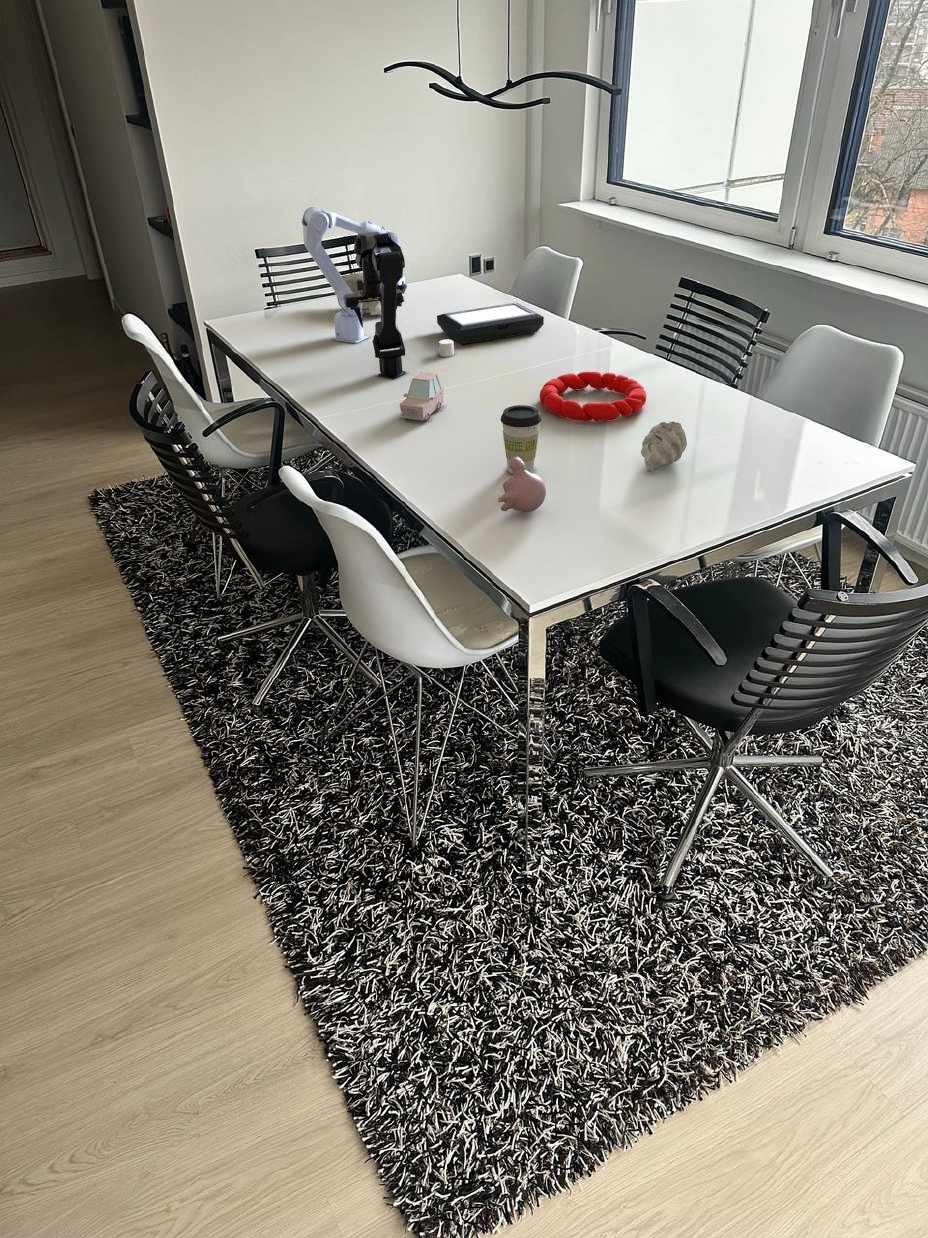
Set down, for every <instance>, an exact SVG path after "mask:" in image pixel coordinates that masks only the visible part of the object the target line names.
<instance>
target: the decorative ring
mask: <svg viewBox="0 0 928 1238" xmlns="http://www.w3.org/2000/svg"><path fill="white" fill-rule="evenodd" d="M588 386H589V387H591V388H592V389H595V390H603V389H607V390H608V391H612V392H615V393H617V394H618V393H619V394H622V395H624V396H625V398H623V399H618V400H615V401H611V402H605V401H604V402H587V403H585V404H583V405H582V406H581V404H580V403H579V402H578V401H576V400H572V399H567V400H564V398H563V397H562V396H560V395H561V394H564V393H565V392H566V391H567V390H568V389H570V390H572V391H573V390H574V391H580V390H581V391H582V390H584V389H586V388H588ZM539 401H540V404H541V405H542V406H543V407H544V408H545V410H547V411H548V412H549V413H552V414H553V415H556V416H558V417H561V418H564V419H569V420H573V421H581V422H590V421H592V420H593V421H594V422H611V421H615V420H617V419H618V418H619V417H620V416H622V417H629V416H631V415H632V414H636V413H638V412H639V411H640V410H642V408H643V406H644V405H645V404H646V401H647V392H646V390H645V388H644V386H643V385H642V384H641V383H639V382H638V381H637V380H635V379H634V378H629V377H628V376H626V375H622V374H618V375H616V374H615V373H614V372H605V373H603V374H602V373H601V372H598V371H580V372H579V373H576V374H575V373H573V372H572V373H566V374H561V375H559V376H557V377H556V378H551V379H550V380H548V381H546V382H545V384H543V386H542V388H541V389H540V391H539Z"/></svg>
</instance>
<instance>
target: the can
mask: <svg viewBox="0 0 928 1238" xmlns="http://www.w3.org/2000/svg"><path fill="white" fill-rule="evenodd" d="M438 349H439V350H438V351H439V352H438V353H439V356H441V357H444V358H448V357H453V356H454V355H455V351H454V350H455V349H454V340H453V339H441V340H439V341H438Z"/></svg>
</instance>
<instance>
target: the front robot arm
mask: <svg viewBox="0 0 928 1238" xmlns="http://www.w3.org/2000/svg"><path fill="white" fill-rule="evenodd" d="M382 248H389V249H390V250H391V251H392V252H386V253H380V252H381V250H382ZM353 252H354V254H355V258H354V260H355V263H356V265H357V267H358V268H359V269H360V270H361V271H362V273H363V281H362V280H357V281H356V284H357V291H363V294H364V295H365V296H358V297H357V295H356V294H345V295H344V304H345V306H346V307H350V309H351V310H354V311H355V313H356V315H357V317H358V319H359V322H360V324H361V327H363V328H364V323H363V322H364V321H363V315H362V316H361V311H360V307H359V305H358V304H359V303H362V302H372V301H381V315H380V321H377V322H375V324H374V335H373V337H372V338H373V339H372V346H373V350H374V357H375V358H376V359H378V365H379V373H377V376H378V377H380V378H386V379H392V380H396V379H398V378H399V377H402V376H403V375H405V374H406V371H405V370H403V359H402V357H406V347H405V344H404V339H403V336H402V332H401V330H400V329H399V326H398V324H397V310H398V307H399V306H398V305H401V303H400V302H402V303H404V302H405V301H406V300H405V293H404V294H403V293H402V291H401V290H400V289H398V290H397V283H398V282H399V281H400V279H401V278H402V277H404V276H403V275H404V269H405V267H406V261H405V260H406V259H405V256H404V253H403V250H402V248H401V246H400V244H399V245H398V244H396V243H395V242H394V241H393V240H392V238H391V235H390V234H388V233H379V232H368V233H359V234H357V237H356V238H355V240H354V245H353ZM377 297H378V298H377ZM368 298H372V299H368ZM397 306H398V307H397Z"/></svg>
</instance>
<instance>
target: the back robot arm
mask: <svg viewBox="0 0 928 1238" xmlns="http://www.w3.org/2000/svg"><path fill="white" fill-rule="evenodd" d="M301 225H302V235H303V244H304V247H305V248H306V250H307V252H308V253H309V255H310V256H311V258H312V259H313V260H314V262H315V264H316V265H317V267H318V268H319V270H320V272H321V273H322V275H323V276H324V278H325V279H326V280H327V281H326V282H328V284H329V286H330V287H331V288H332V290H333V292H334V294H336V295H335V297H336V298H337V299H336V300H337V304H338V306H339V307H340V308H341V309H340V311H338V312H336V314H335V315H334V317H333V326H334V333H335V335H334V336H335V338H334V341H338V342H345V343H352V344H358V343H360V342H362V341H364V340H366V339H368V338H369V337H370V336H369V335H368V334H367V335H366V334H364V326H363V327H361V324H360V322H359V319H358V317H357V315H356V313H355V311H354V310H351V309H350V307H346V306H345V304H344V295H345V294H353V292H352V291H351V289H350V288H349V287H348V286H347V284H346V283H345V281H344V280H343V278H342V275H341V273H340V272H339V270H338V269H337V267H336V265H335V264H334V262H333V260H332V259H331V258H330V256H329V254H328V253H327V252H326V250H325V248H324V246H323V245H322V242H323V241H322V240H323V236H324V235H325V233H326V231H327V230H328V229H330V230H331V229H333V228H335V227H338V228H341V229H343V230H346V231H350V232H352V233H355V234H356V235H358V234H359V233H368V232H379V233H388V234H390V235H391V238H392V240H393V241H394V242H395V243H396V244H398V245H399V246H400V240H399V238H398V235H397V234H396V233H394V232H392V231H391V230H389V229H388V228H386V227H384V226H378V225H376V224H374V222H373V221H371V220H368V221H362V222H360V223H359V222H356V221H354V220H352V219H350V218H347V217H345V216H343V215H340V214H338V213H336V212H333V211H330V210H326V209H322V208H320V209H319V208H317V207H315V206H310V207H308V208H306V209H305V211H304V212H303V214H302V218H301ZM386 252H392V251H391V250H390V249H389V248H382V250H381V252H380V253H386ZM405 283H406V276H402V278H401V279H400V281H399V282H398V283H397V290H398V289H400V290H401V291H402V293H403V294H404V295H405V293H406V290H407V288H408V286H407V284H405ZM380 302H381V301H380ZM400 303H401V305H398V307H399V308H401V307H402V306H403V302H400ZM358 305H359V307H360V311H361V310H362V306H363V305H362V303H359V304H358ZM361 316H362V317H363V315H362V313H361Z"/></svg>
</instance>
